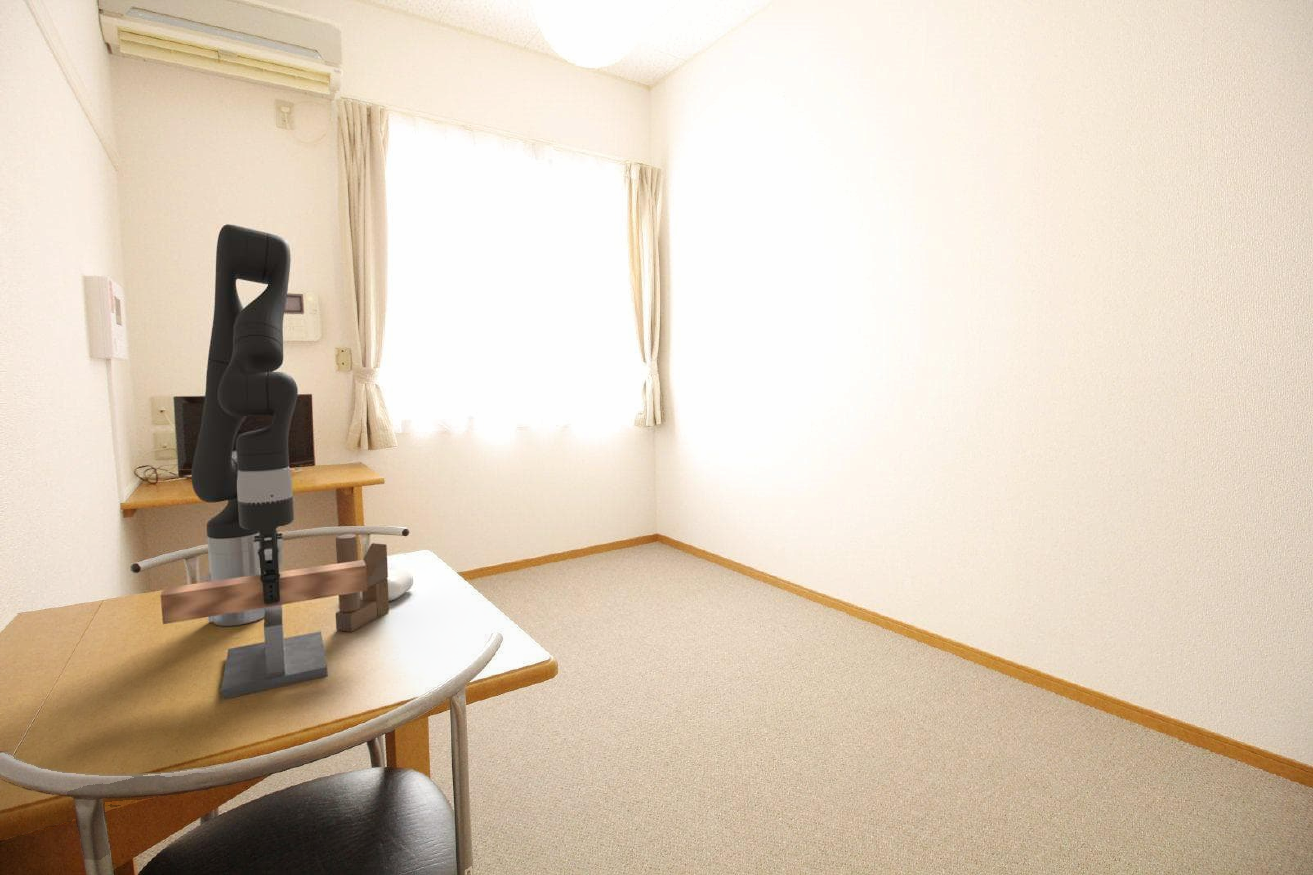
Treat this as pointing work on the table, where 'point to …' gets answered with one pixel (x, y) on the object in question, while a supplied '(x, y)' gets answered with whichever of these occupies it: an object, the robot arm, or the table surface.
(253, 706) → the table surface
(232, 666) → the stand
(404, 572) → the earbud case
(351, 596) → the brown wooden block stack
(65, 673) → the table surface
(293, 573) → the bar
